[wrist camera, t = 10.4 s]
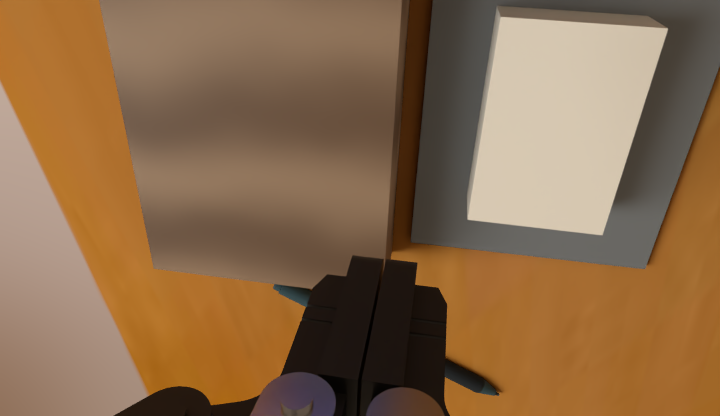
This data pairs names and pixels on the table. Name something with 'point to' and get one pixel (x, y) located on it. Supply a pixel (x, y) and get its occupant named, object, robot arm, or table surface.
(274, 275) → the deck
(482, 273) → the table surface
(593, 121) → the cream rectangular block
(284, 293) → the pen
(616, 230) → the mat
